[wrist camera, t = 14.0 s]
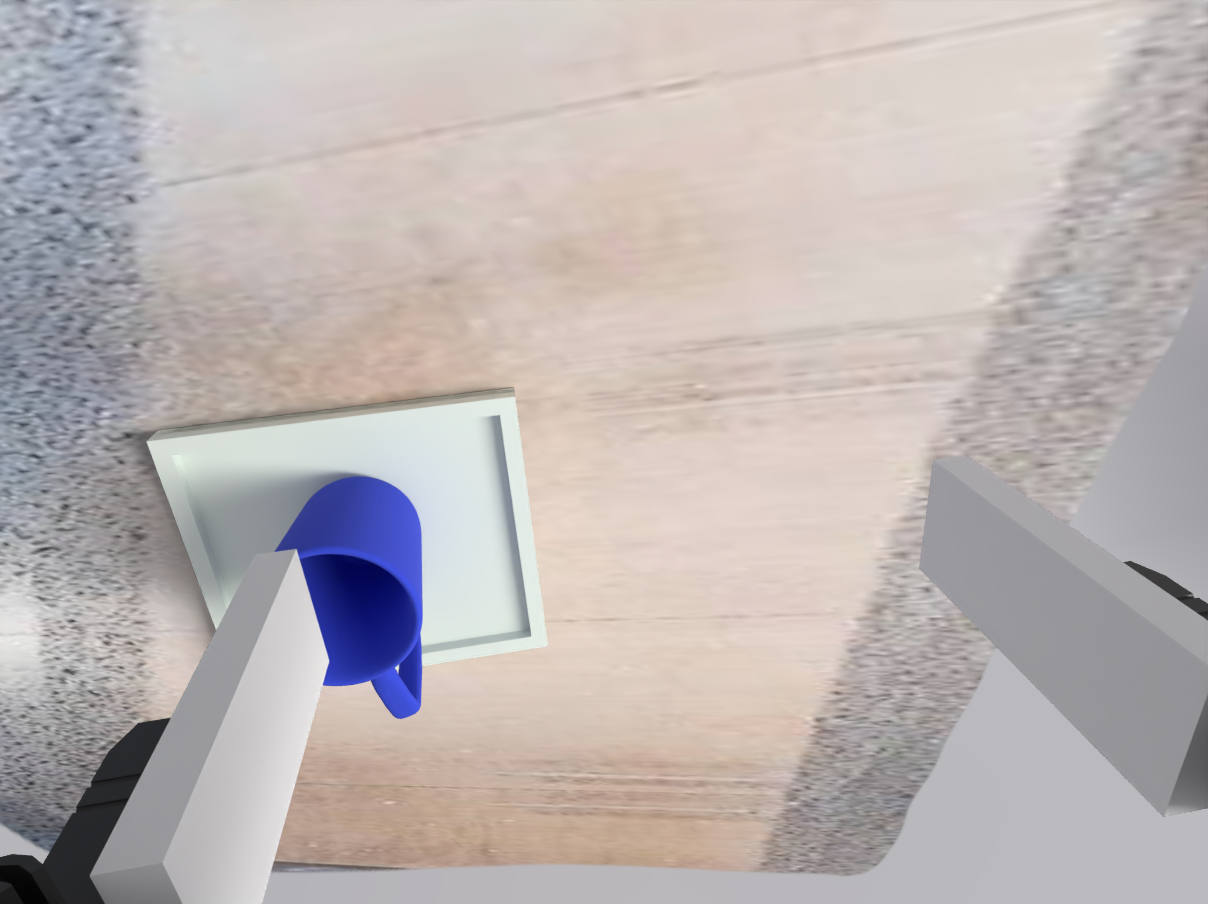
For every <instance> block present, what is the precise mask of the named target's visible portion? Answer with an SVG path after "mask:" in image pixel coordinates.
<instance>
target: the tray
mask: <svg viewBox="0 0 1208 904" xmlns="http://www.w3.org/2000/svg"><path fill="white" fill-rule="evenodd" d="M146 442H147V445H148V447H149V450H150V453H151V455H152V458H153V461H154V464H155V466H156V469H157V472H158V474H159V477H160V480H161V482H162V485H163V488H164V491H165V493H166V496H167V499H168V501H169V504H170V507H171V510H172V512H173V515H174V518H175V520H176V523H177V526H178V529H179V531H180V534H181V537H182V539H183V542H184V545H185V548H186V550H187V553H188V556H189V558H190V561H191V564H192V566H193V569H194V572H195V575H196V577H197V580H198V583H199V585H200V588H201V591H202V594H203V596H204V599H205V602H206V604H207V607H208V610H209V613H210V615H211V618H212V621H213V623H214V626H215V629H216V630H217V628H218V626H219V624H220V622H221V620H222V618H223V616H224V614H225V612H226V610H227V608H228V606H229V604H230V603H231V601H232V599H233V597H234V595H235V593H236V591H237V589H238V587H239V585H240V583H241V581H242V579H243V577H244V575H245V573H246V572H247V570H248V568H249V566H250V564H251V562H252V560H253V558H254V556H255V555H256V554H264V553H271V552H275V550H276V548H277V547H278V545H279V544H280V542H281V541H282V539H283V538H284V536H285V535H286V533H287V532H288V530H289V529H290V527H291V525H292V524H293V522H294V521H295V519H296V518H297V516H298V515H299V513H300V512H301V510H302V509H303V507H304V506H305V504H306V503H307V502H308V500H309V499H310V498H311V497H312V496H313V495H314V494H315V493H316V492H317V491H319V490H320V489H321V488H323V487H324V486H326V485H328V484H330V483H332V482H334V481H337V480H340V479H343V478H347V477H357V476H362V477H372V478H376V479H380V480H383V481H385V482H387V483H390V484H391V485H393V486H395V487H396V488H398V489H399V490H400V491H402V492H403V493H404V494H405V495H406V496H407V497H408V498H409V500H410V501H411V502H412V504H413V506H414V507H415V509H416V511H417V514H418V517H419V520H420V524H421V533H422V598H423V621H422V628H421V632H420V634H421V645H422V666H426V665H433V664H439V663H445V662H451V661H458V660H464V659H470V658H476V657H483V656H489V655H495V654H502V653H508V652H514V651H520V650H527V649H533V648H539V647H545V646H548V642H547V635H546V627H545V619H544V612H543V604H542V597H541V589H540V582H539V574H538V566H537V559H536V551H535V544H534V536H533V529H532V521H531V513H530V506H529V498H528V491H527V483H526V476H525V468H524V460H523V453H522V445H521V438H520V430H519V423H518V415H517V407H516V400H515V392H514V387H513V388H505V389H497V390H488V391H480V392H472V393H463V394H455V395H447V396H438V397H430V398H422V399H414V400H405V401H397V402H389V403H380V404H372V405H364V406H355V407H347V408H339V409H330V410H322V411H314V412H305V413H297V414H289V415H281V416H272V417H264V418H256V419H247V420H239V421H231V422H222V423H214V424H206V425H197V426H189V427H181V428H173V429H164V430H158V431H157V432H156V433H155V434H154V435H153V436H152V437H151V438H149V439H148V440H147V441H146ZM395 669H396V670H399V665H398V666H397V667H395Z"/></svg>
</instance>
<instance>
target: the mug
mask: <svg viewBox="0 0 1208 904" xmlns="http://www.w3.org/2000/svg"><path fill="white" fill-rule="evenodd" d="M292 549H297V553H298V556H299V560H300V563H301V566H302V570H303V573H304V577H305V580H306V583H307V587H308V590H309V594H310V597H311V600H312V604H313V607H314V611H315V614H316V617H317V621H318V624H319V628H320V631H321V634H322V638H323V641H324V645H325V648H326V651H327V655H328V658H329V664H328V667H327V671H326V675H325V678H324V682H323V685H325V686H346V685H355V684H359V683H364V682H367V681H370V680H371V682H372V685H373V687H374V689H375V691H376V692H377V694H378V695H379V697H380V698H381V700H382V701H383V703H384V704H385V706H386V707H387V709H388V710H389V711H390V712H391V714H392V715H393V716H394V717H395V718H398V719H402V718H406V717H409V716H411V715H413V714H415V713H416V712H417V711H419V709H420V706H421V685H422V645H421V634H420V632H421V628H422V621H423V598H422V533H421V524H420V520H419V517H418V514H417V511H416V509H415V507H414V506H413V504H412V502H411V501H410V500H409V498H408V497H407V496H406V495H405V494H404V493H403V492H402V491H400V490H399V489H398V488H396V487H395V486H393V485H391V484H390V483H387V482H385V481H383V480H380V479H376V478H372V477H362V476H357V477H347V478H343V479H340V480H337V481H334V482H332V483H330V484H328V485H326V486H324V487H323V488H321V489H320V490H319V491H317V492H316V493H315V494H314V495H313V496H312V497H311V498H310V499H309V500H308V502H307V503H306V504H305V506H304V507H303V509H302V510H301V512H300V513H299V515H298V516H297V518H296V519H295V521H294V522H293V524H292V525H291V527H290V529H289V530H288V532H287V533H286V535H285V536H284V538H283V539H282V541H281V542H280V544H279V545H278V547H277V548H276V550H275V552H278V551H285V550H292ZM398 665H399V675H398V673H397V671H396V669H395V667H397V666H398Z"/></svg>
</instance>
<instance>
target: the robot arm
mask: <svg viewBox="0 0 1208 904" xmlns="http://www.w3.org/2000/svg"><path fill="white" fill-rule="evenodd" d="M919 569H920V570H921V571H922V572H923V573H924V574H925V575H926V576H927V577H928V578H929V579H930V580H931V581H932V582H933V583H934V584H935V585H936V586H937V587H938V588H939V589H940V590H941V591H942V592H943V593H944V594H945V595H946V596H947V597H948V598H949V599H950V600H951V601H952V602H953V603H954V604H955V605H956V606H957V607H958V608H959V609H960V611H961V612H962V613H963V614H964V615H965V616H966V617H967V618H968V619H969V620H970V621H971V622H972V623H973V624H974V625H975V626H976V627H977V628H978V629H979V630H980V631H981V632H982V633H983V634H984V635H985V636H986V637H987V638H988V639H989V640H990V641H991V642H992V643H993V644H994V645H995V646H996V647H997V648H998V649H999V650H1000V651H1001V652H1002V653H1003V654H1004V655H1005V656H1006V657H1007V658H1008V659H1009V660H1010V661H1011V662H1012V663H1013V664H1014V665H1015V666H1016V668H1017V669H1018V670H1019V671H1020V672H1021V673H1022V674H1023V675H1024V676H1025V677H1026V678H1027V679H1028V680H1029V681H1030V682H1031V683H1032V684H1033V685H1034V686H1035V687H1036V688H1037V689H1038V690H1039V691H1040V692H1041V693H1042V694H1043V695H1044V696H1045V697H1046V698H1047V699H1048V700H1049V701H1050V702H1051V703H1052V704H1053V705H1054V706H1055V707H1056V708H1057V709H1058V710H1059V711H1060V712H1061V713H1062V714H1063V715H1064V716H1065V717H1066V718H1067V719H1068V720H1069V721H1070V722H1071V724H1072V725H1073V726H1074V727H1075V728H1076V729H1077V730H1078V731H1080V733H1081V734H1082V735H1083V736H1084V737H1085V738H1086V739H1087V740H1088V741H1089V742H1090V743H1091V744H1092V745H1093V746H1094V747H1095V748H1096V749H1097V750H1098V751H1099V752H1100V753H1101V754H1102V755H1103V756H1104V757H1105V758H1106V759H1107V760H1108V761H1109V762H1110V763H1111V764H1112V765H1113V766H1114V767H1115V768H1116V769H1117V770H1118V771H1119V772H1120V773H1121V774H1122V775H1123V776H1124V778H1125V779H1127V780H1128V782H1129V783H1130V784H1131V785H1132V786H1133V787H1134V788H1136V790H1137V791H1138V792H1139V793H1140V794H1141V795H1142V796H1143V797H1144V798H1145V799H1146V800H1147V801H1148V802H1149V803H1150V804H1151V805H1152V806H1153V807H1154V808H1155V809H1156V810H1157V811H1158V812H1159V813H1160V814H1161V815H1162V816H1163V817H1167V816H1172V815H1177V814H1182V813H1187V812H1192V811H1196V810H1202V809H1206V808H1208V604H1207V603H1206V602H1204V601H1203V600H1201V599H1200V598H1194V597H1193V594H1192V593H1191V592H1189V591H1188V590H1186V589H1185V588H1183V587H1182V586H1180V585H1179V584H1177V583H1176V582H1174V581H1173V580H1171V579H1170V578H1168V577H1167V576H1165V575H1163V574H1160V573H1158V572H1155V571H1153V570H1151V569H1148V568H1146V567H1143V566H1141V565H1139V564H1136V563H1134V562H1131V561H1128V562H1122V561H1120V560H1119V559H1117V558H1116V557H1115V556H1113V555H1112V554H1110V553H1108V552H1107V551H1106V550H1104V549H1103V548H1101V547H1100V546H1099V545H1097V544H1095V543H1094V542H1093V541H1091V540H1089V539H1088V538H1087V537H1085V536H1084V535H1082V534H1081V533H1080V532H1078V531H1077V530H1075V529H1074V528H1072V527H1071V526H1069V525H1068V524H1066V523H1065V522H1064V521H1062V520H1061V519H1059V518H1058V517H1056V516H1055V515H1053V514H1052V513H1050V512H1049V511H1048V510H1046V509H1045V508H1043V507H1042V506H1040V505H1039V504H1037V503H1036V502H1034V501H1033V500H1031V499H1030V498H1029V497H1027V496H1026V495H1024V494H1023V493H1021V492H1020V491H1018V490H1017V489H1015V488H1014V487H1013V486H1011V485H1010V484H1008V483H1007V482H1005V481H1004V480H1002V479H1001V478H999V477H998V476H997V475H995V474H994V473H992V472H991V471H989V470H988V469H986V468H985V467H983V466H982V465H980V464H979V463H978V462H976V461H975V460H973V459H972V458H970V457H969V456H967V455H964V456H957V457H950V458H943V459H935V460H933V466H932V473H931V481H930V489H929V496H928V504H927V512H926V519H925V527H924V535H923V542H922V550H921V558H920V565H919ZM328 664H329V658H328V655H327V651H326V648H325V645H324V641H323V638H322V634H321V631H320V628H319V624H318V621H317V617H316V614H315V611H314V607H313V604H312V600H311V597H310V594H309V590H308V587H307V583H306V580H305V577H304V573H303V570H302V566H301V563H300V560H299V556H298V553H297V549H292V550H285V551H278V552H271V553H264V554H256V555H255V556H254V558H253V560H252V562H251V564H250V566H249V568H248V570H247V572H246V573H245V575H244V577H243V579H242V581H241V583H240V585H239V587H238V589H237V591H236V593H235V595H234V597H233V599H232V601H231V603H230V604H229V606H228V608H227V610H226V612H225V614H224V616H223V618H222V620H221V622H220V624H219V626H218V628H217V630H216V632H215V634H214V635H213V637H212V639H211V641H210V643H209V645H208V647H207V649H206V651H205V653H204V655H203V657H202V659H201V661H200V663H199V665H198V667H197V668H196V670H195V672H194V674H193V676H192V678H191V680H190V682H189V684H188V686H187V688H186V690H185V692H184V694H183V696H182V698H181V699H180V701H179V703H178V705H177V707H176V709H175V711H174V713H173V715H172V717H171V718H166V719H160V720H154V721H148V722H142V723H138V724H137V725H136V726H135V727H134V728H133V729H132V730H131V731H130V732H129V733H127V734H126V735H125V736H124V737H123V738H122V739H121V740H120V741H119V742H118V743H117V744H116V745H115V746H114V747H113V748H112V749H111V750H110V751H109V752H108V754H107V755H106V757H105V759H104V761H103V762H102V764H101V766H100V767H99V769H98V771H97V772H96V774H95V776H94V778H93V779H92V781H91V787H90V788H87V790H86V791H85V793H84V795H83V796H82V798H81V800H80V801H79V803H78V805H77V807H76V808H77V811H76V813H73V814H72V815H71V817H70V818H69V820H68V822H67V824H66V825H65V827H64V829H63V830H62V832H61V834H60V836H59V837H58V839H57V841H56V842H55V844H54V846H53V847H52V849H51V851H50V853H49V854H48V856H47V858H46V859H45V861H44V863H43V864H42V863H40V862H39V861H38V860H37V859H36V858H34V857H33V856H29V855H16V854H11V855H7V856H3V857H0V904H262V902H263V898H264V894H265V891H266V887H267V884H268V880H269V876H270V873H271V869H272V866H273V862H274V858H275V855H276V851H277V848H278V844H279V840H280V837H281V833H282V830H283V826H284V822H285V819H286V815H287V812H288V808H289V804H290V801H291V797H292V794H293V790H294V786H295V783H296V779H297V776H298V772H299V768H300V765H301V761H302V757H303V754H304V750H305V747H306V743H307V739H308V736H309V732H310V729H311V725H312V721H313V718H314V714H315V711H316V707H317V703H318V700H319V696H320V693H321V689H322V685H323V682H324V678H325V675H326V671H327V667H328Z"/></svg>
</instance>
